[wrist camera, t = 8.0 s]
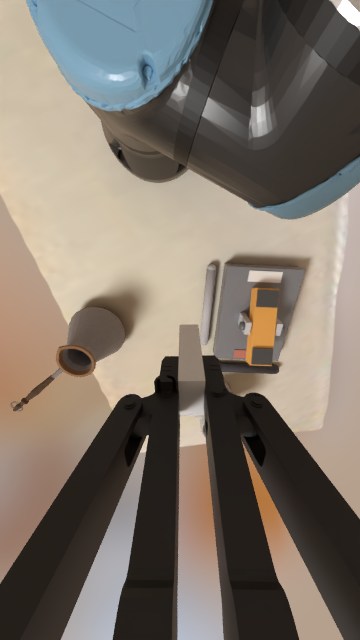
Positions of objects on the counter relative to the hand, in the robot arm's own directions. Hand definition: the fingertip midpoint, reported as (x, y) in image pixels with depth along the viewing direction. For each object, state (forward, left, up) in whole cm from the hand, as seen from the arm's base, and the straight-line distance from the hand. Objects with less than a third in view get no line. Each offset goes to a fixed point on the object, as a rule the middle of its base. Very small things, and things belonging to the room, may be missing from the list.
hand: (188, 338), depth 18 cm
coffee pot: (+16, -22, -26) cm, 37 cm away
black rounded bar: (+22, +15, -26) cm, 37 cm away
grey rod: (+7, +5, -26) cm, 27 cm away
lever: (+9, +14, -20) cm, 26 cm away
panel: (+8, +14, -26) cm, 30 cm away
